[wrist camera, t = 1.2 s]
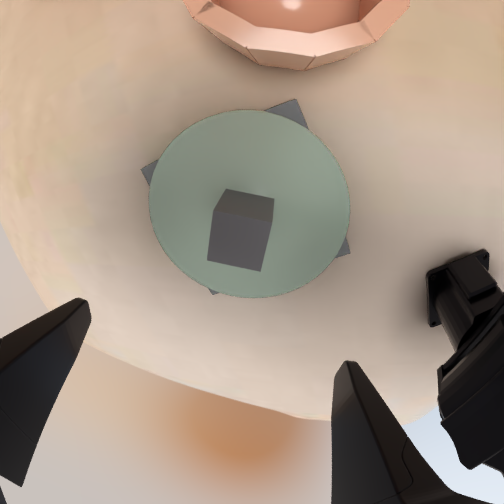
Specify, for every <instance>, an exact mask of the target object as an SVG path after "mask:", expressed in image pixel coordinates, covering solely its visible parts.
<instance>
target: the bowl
mask: <svg viewBox="0 0 504 504" xmlns="http://www.w3.org/2000/svg"><path fill="white" fill-rule="evenodd" d="M183 1H184V3H185V5H186V7H187V9H188V10H189V12H190V14H191V16H192V18H193V19H195V20H196V21H197V22H199V23H200V24H201V25H202V26H204V27H205V28H206V29H208V30H209V31H210V32H211V33H212V34H214V35H215V36H216V37H217V38H219V39H220V40H221V41H222V42H223V43H225V44H227V45H228V46H230V47H232V48H233V49H235V50H237V51H238V52H240V53H241V54H243V55H245V56H246V57H248V58H249V59H251V60H252V61H254V62H255V63H257V64H258V65H265V66H273V67H281V68H288V69H295V70H301V71H303V70H304V71H305V70H309V69H312V68H315V67H318V66H321V65H325V64H328V63H332V62H335V61H339V60H342V59H345V58H347V57H348V56H350V55H352V54H354V53H356V52H357V51H359V50H361V49H363V48H365V47H367V46H368V45H370V44H372V43H374V42H376V41H377V40H378V39H379V38H380V37H381V36H382V35H383V34H384V33H385V32H386V31H387V30H388V28H389V27H390V26H391V25H392V24H393V23H394V22H395V21H396V20H397V19H398V18H399V17H400V16H401V15H402V14H403V13H404V12H405V11H406V10H407V9H408V8H409V4H410V0H183Z"/></svg>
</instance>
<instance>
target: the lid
mask: <svg viewBox="0 0 504 504" xmlns="http://www.w3.org/2000/svg"><path fill="white" fill-rule="evenodd" d="M149 211H150V217H151V222H152V225H153V229H154V232H155V234H156V236H157V239H158V241H159V243H160V245H161V246H162V248H163V250H164V251H165V253H166V254H167V255H168V257H169V258H170V259H171V261H172V262H173V263H174V264H175V265H176V266H177V267H178V268H179V269H180V270H181V271H182V272H184V273H185V274H186V275H187V276H189V277H190V278H191V279H193V280H194V281H196V282H198V283H199V284H201V285H203V286H205V287H207V288H209V289H212V290H214V291H217V292H219V293H223V294H227V295H230V296H236V297H243V298H264V297H271V296H277V295H281V294H284V293H288V292H290V291H293V290H295V289H298V288H300V287H301V286H303V285H305V284H307V283H309V282H310V281H311V280H313V279H314V278H316V277H317V276H318V275H319V274H320V273H321V272H323V271H324V270H325V269H326V268H327V267H328V265H329V264H330V263H331V262H332V261H333V259H334V258H335V256H336V255H337V253H338V251H339V250H340V248H341V246H342V243H343V241H344V239H345V236H346V232H347V229H348V225H349V217H350V199H349V193H348V187H347V184H346V181H345V178H344V175H343V173H342V170H341V168H340V166H339V164H338V162H337V161H336V159H335V158H334V156H333V155H332V153H331V152H330V151H329V149H328V148H327V147H326V146H325V145H324V144H323V143H322V141H321V140H320V139H319V138H318V137H317V136H315V135H314V134H313V133H312V132H311V131H309V130H308V129H307V128H305V127H304V126H302V125H300V124H299V123H297V122H295V121H293V120H291V119H289V118H286V117H284V116H282V115H278V114H274V113H271V112H267V111H259V110H235V111H229V112H223V113H220V114H217V115H214V116H211V117H207V118H205V119H203V120H201V121H199V122H197V123H195V124H193V125H192V126H190V127H189V128H187V129H186V130H184V131H183V132H182V133H181V134H180V135H178V136H177V137H176V138H175V139H174V140H173V141H172V142H171V143H170V145H169V146H168V147H167V148H166V150H165V151H164V152H163V154H162V156H161V157H160V159H159V161H158V163H157V165H156V168H155V170H154V172H153V176H152V180H151V184H150V191H149Z"/></svg>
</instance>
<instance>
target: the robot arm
mask: <svg viewBox="0 0 504 504" xmlns="http://www.w3.org/2000/svg"><path fill="white" fill-rule="evenodd" d="M484 255H485V256H484ZM488 270H489V253H488V252H487V251H486V250H482V251H479V252H477V253H475V254H472V255H470V256H467V257H465V258H462V259H460V260H457V261H455V262H452V263H449V264H447V265H444V266H441V267H439V268H436V269H433V270H431V271H429V272H428V273H427V275H426V281H427V299H428V324H429V326H430V327H435V326H438V325H440V324H442V325H443V327H444V329H445V331H446V333H447V335H448V337H449V339H450V342H451V344H452V346H453V348H454V350H455V353H454V354H453V356H452V357H451V358H450V359H449V360H448V361H447V362H446V363H445V364H444V365H441V366H440V367H439V368H438V369H437V375H438V394H439V395H438V398H437V401H438V406H439V412H440V416H441V418H442V421H441V425H442V427H443V428H444V429H445V430H446V431H447V432H448V434H449V435H450V437H451V439H452V441H453V442H454V445H455V447H456V450H457V454H458V457H459V460H460V462H461V463H462V464H463V465H464V466H465V467H466V468H467V469H469V470H472V469H473V468H475V467H477V466H478V465H480V464H481V463H483V464H485V465H487V466H489V467H491V468H493V469H495V470H498V471H500V472H501V473H502V475H503V477H504V292H502V291H501V289H500V288H499V287H498V285H497V282H496V281H495V279H494V278H493V277H492V276H491V274H490V273H489V272H488ZM433 275H434V276H433ZM432 276H433V277H432ZM431 277H432V278H431ZM90 323H91V313H90V308H89V304H88V302H87V300H84V299H82V298H75V299H73V300H71V301H69V302H67V303H65V304H63V305H61V306H60V307H58V308H56V309H54V310H52V311H50V312H48V313H46V314H44V315H43V316H41V317H39V318H37V319H35V320H33V321H31V322H30V323H28V324H26V325H24V326H23V327H20V328H19V329H17V330H15V331H13V332H12V333H10V334H8V335H6V336H4V337H3V338H0V475H1V476H3V477H4V478H6V479H8V480H9V481H11V482H13V483H15V484H16V485H18V486H20V487H22V485H23V483H24V479H25V476H26V474H27V471H28V468H29V465H30V462H31V459H32V456H33V454H34V451H35V449H36V446H37V443H38V441H39V438H40V436H41V433H42V431H43V428H44V426H45V423H46V421H47V419H48V417H49V414H50V412H51V410H52V408H53V405H54V403H55V401H56V399H57V397H58V394H59V392H60V390H61V388H62V386H63V384H64V382H65V380H66V378H67V376H68V374H69V372H70V370H71V368H72V366H73V364H74V362H75V360H76V358H77V355H78V353H79V350H80V348H81V345H82V343H83V340H84V338H85V335H86V333H87V331H88V328H89V326H90ZM331 427H332V429H331V430H332V497H331V500H332V501H331V504H492V503H488V502H484V501H481V500H477V499H474V498H471V497H468V496H464V495H462V494H458V493H456V492H454V491H452V490H451V489H450V488H448V487H447V486H446V485H445V484H444V482H443V481H442V480H441V479H440V478H439V476H438V475H437V474H436V473H435V472H434V471H433V469H432V468H431V467H430V466H429V464H428V463H427V462H426V461H425V459H424V458H423V457H422V456H421V454H420V453H419V451H418V450H417V449H416V447H415V446H414V445H413V443H412V442H411V440H410V438H409V437H407V434H406V433H405V431H404V430H403V428H402V427H401V425H400V424H399V422H398V421H397V419H396V418H395V416H394V415H393V413H392V412H391V411H390V409H389V408H388V406H387V405H386V403H385V402H384V400H383V399H382V397H381V396H380V395H379V393H378V392H377V390H376V389H375V387H374V386H373V384H372V383H371V382H370V380H369V379H368V377H367V376H366V374H365V373H364V372H363V370H362V369H361V367H360V366H359V364H358V363H357V362H355V361H344V363H343V364H342V365H341V367H340V368H339V370H338V371H337V373H336V375H335V378H334V389H333V402H332V415H331ZM0 504H7V503H6V501H5V498H4V495H3V492H2V490H1V487H0Z"/></svg>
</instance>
